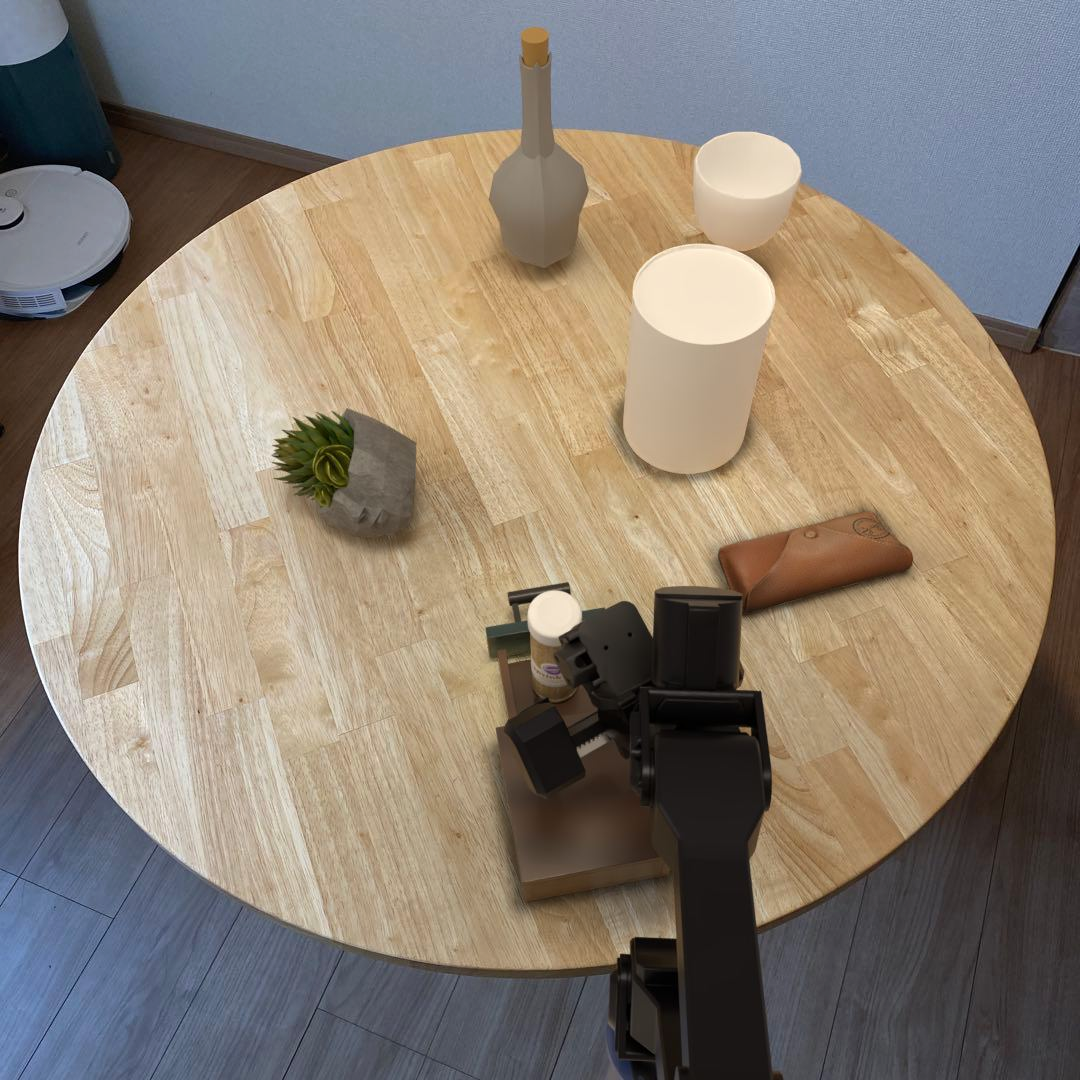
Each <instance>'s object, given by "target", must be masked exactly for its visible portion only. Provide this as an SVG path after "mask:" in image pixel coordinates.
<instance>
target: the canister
mask: <svg viewBox="0 0 1080 1080" xmlns="http://www.w3.org/2000/svg"><path fill="white" fill-rule="evenodd" d="M631 295H632V296H631V309H630V321H629V322H630V324H629V334H628V335H629V336H628V351H627V362H626V364H627V365H626V376H625V377H626V378H625V389H624V405H623V406H624V407H623V418H622V427H623V429H622V430H623V433H624V437H625V439H626V442H627V444H628V446H629V447H630V448H631V450H632V451H633V452H634V453H635V454H636V455H637V456H638V457H639V458H640V459H641V460H642V461H644V462H645V463H647V464H649V465H650V466H652V467H654V468H656V469H659V470H661V471H665V472H668V473H672V474H678V475H679V474H680V475H695V474H702V473H706V472H710V471H713V470H715V469H717V468H719V467H722V466H724V465H725V464H726V463H728V462H729V461H731V460H732V459H733V458H734V457H735V456H736V454H737V453H738V452H739V450H740V449H741V447H742V444H743V443H744V439H745V434H746V430H747V426H748V421H749V418H750V417H749V416H750V414H751V409H752V404H753V401H754V395H755V392H756V387H757V383H758V379H759V375H760V370H761V365H762V361H763V356H764V352H765V348H766V347H765V346H766V344H767V340H768V334H769V330H770V326H771V323H772V318H773V314H774V313H773V312H774V308H775V305H776V290H775V286H774V283H773V281H772V278H770V276H769V274H768V273H767V272H766V270H765V269H764V268H763V266H761V265H760V264H759V263H758V262H757V261H755V259H753V258H752V257H750V256H748V255H746V254H744V253H742V252H741V251H736V250H733V249H730V248H727V247H723V246H718V245H716V244H710V243H687V244H681V245H676V246H673V247H670V248H667V249H665V250H662V251H661V252H659V253H657V254H655V255H653V256H652V257H650V258H649V259H648V260H647V261H646V262H644V264H642V266H641V267H640V268H639V270H638V272H637V273H636V275H635V277H634V281H633V284H632V294H631Z"/></svg>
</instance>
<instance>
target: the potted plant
mask: <svg viewBox="0 0 1080 1080" xmlns="http://www.w3.org/2000/svg"><path fill="white" fill-rule="evenodd" d="M331 413H332V414H333V415H334V416H335V417H336V418H337V419H338V420H339V422H337V421H335V420H334V419H333V418H331V417H329V416H327V415H325V414H323V413H322V412H321V413H320V412H318V411H315V417H316V418H314V417H311V416H308V415H306V414H304V415H303V417H305V419H307V421H309V422H310V423H311V425H313V426H311V425H310V424H306V423H305V422H303V421H302V420H300V419H298V418H296V417H295V416H291V418H292V419H293V420H294V422H295V424H296V425H297V428H299V430H292V429H290V430H288V429H287V430H286V429H281V431H282V432H283V433H285V434H286V437H281V438H274V439H273V441H275V442H276V443H278V444H272V445H271V447H274V448H276V449H273V451H274V453H272V454H271V455H270V456H271V457H273V458H275V459H276V460H278V461H280V462H276V461H270V463H271V464H274V465H276V466H277V467H279V468H274V469H273V470H274V471H279V472H285V473H288V475H285V476H280V477H273V478H272V479H273V480H277V481H281V482H282V483H283V484H287V485H288V484H289V485H294V486H291V487H290V488H291V489H298V488H299V490H298V491H296V492H295V493H294V494H293V495H292V496H298V497H302V496H306V499H308V498H310V499H309V501H314V502H315V505H316V508H317V512H318V516H319V517H320V518H321V519H322V521H324V522H325V523H326V525H328V526H331V527H333V528H335V529H337V530H339V531H341V532H343V533H346V534H348V535H351V536H352V537H362V538H378V537H382V536H386V535H389V534H394V533H398V532H400V531H402V530H404V529H407V528H408V527H409V525H410V522H411V519H412V515H413V510H414V509H413V508H414V502H415V492H416V491H415V490H416V478H417V477H416V473H417V471H416V470H417V442H416V441H415V440H413V439H412V438H409V437H408V436H406V435H404V434H403V433H402V432H400V431H398V430H396V429H394V428H393V427H391V426H389V425H388V424H385V423H383V422H382V421H380V420H378V419H376V418H374V417H372V416H369V415H367V414H364V413H361V412H359V411H356V410H353V409H351V408H348V407H345V410H344V412H343V414H342V415H340V414H338V413H337V412H335V411H334V410H331ZM300 488H301V489H300ZM311 497H312V498H311Z"/></svg>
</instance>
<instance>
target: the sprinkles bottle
mask: <svg viewBox="0 0 1080 1080" xmlns="http://www.w3.org/2000/svg"><path fill="white" fill-rule="evenodd" d="M582 611H583V609H582V607H581V604H580V603H579V601H578V600H577V599H576V598H575V597H574V596H573V595H572V594H571V595H570V594H568V593H566V592H563V591H557V590H554V591H547V592H544V593H542V594H540V595H538V596H537V597H536V598H535V599H534V600H533V601H532V602H531V603H529V606H528V609H527V620H528V629H529V631H530V642H531V644H530V645H531V652H530V660H531V669H532V678H531V683H532V687H533V689H534V691H535V693H536V694H537V695H538V696H539V697H540V698H542V699H545V698H546V697H548V699H549V701H550V702H553V703H558V702H563V701H565V700H567V699H569V698H571V697H572V696H573V695H574V694H575V692H576V691H577V688H578V687H576V688H570V687H569V686H568V685H567V683H566V681H565V679H564V677H563V676H562V674H561V672H560V670H559V668H558V666H557V664H556V662H555V660H554V658H553V653H554V652H555V651H557V650H559V649H560V648H561V643H560V641H559V636H561V635H563V634H564V633H566V632H568V631H570V630H571V629H572V628H573V627H574V626H575V625H577V624H579V623H581V622H582Z"/></svg>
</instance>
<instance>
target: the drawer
mask: <svg viewBox="0 0 1080 1080" xmlns="http://www.w3.org/2000/svg"><path fill="white" fill-rule="evenodd" d="M554 590H557V591H563V592H566V593H568V594H570V595H571V596H572V592H571V591H572V590H571V587H570V583H569V581H568V582H567V581H565V582H560V583H554V584H549V585H542V586H536V587H531V588H524V589H517V590H511V591H507V600H508V604H509V605H508V606H509V607H511V610H512V615H513V619H514V622H509V623H503V624H497V625H491V626H486V627H485V628H484V629H485V636H486V643H487V651H488V655H489V656H488V657H489V659H491V660H493V659H497V664H498V670H499V676H500V681H501V688H502V694H503V699H504V704H505V710H506V717H507V721H508V720H509V719H511V718H513V717H515V716H517V715H518V714H519V713H520V712H521V711H523V710H525V709H527V708H528V707H530V706H532V705H534V703H533V699H534V698H536V697H539V696H538V695H537V694H536V693H535V691H534V689H533V687H532V683H531V678H532V669H531V659H527V660H521V661H516V662H515V661H514V662H509V661H508V657H509V656H514V655H522V654H526V653H531V645H530V644H531V642H530V631H529V629H528V619H526V620H522V617H521V612H520V607H519V606H521V605H526V604H531V602H532V601H533V600H534V599H535V598H536V597H537V596H538V595H540V594H542V593H544V592H547V591H554ZM605 609H606V607H604V606H603V607H598V608H591V609H586V610H582V621H584V620H586V619H588V618H590V617H592V616H594V615H596V614H597V613H599V612H601V611H603V610H605ZM539 698H540V697H539ZM541 699H542V698H541ZM550 703H551V704H553V705H554V706H555V707H556V709H557V710H558V712H559V714H560V715H561V716H564V715H569V714H575V713H581V712H586V711H592V710H597V709H598V708H597V707H595V706H594V705H593V704H592V703H591V700H590V698H589V696H588V693H587V691H586V690H585V688H584V687H583V686H582V685H580V686H578V688H577V691H576V692H575V694H574V695H573V696H572V697H571V698H569V699H567V700H565V701H563V702H558V703H553V702H550Z"/></svg>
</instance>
